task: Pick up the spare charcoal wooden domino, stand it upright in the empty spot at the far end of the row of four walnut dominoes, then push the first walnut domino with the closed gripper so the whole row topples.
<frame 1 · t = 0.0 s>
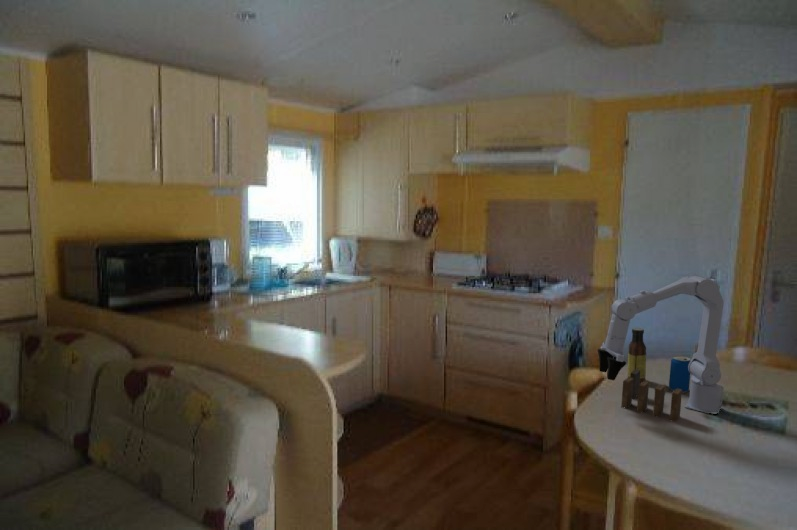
hand: (606, 375, 185), 11 cm above the table, tool pointing down, fingers open, 7 cm apart
sauce bottle: (635, 380, 211), on the table
domino 4: (626, 405, 187), on the table
domino 3: (641, 409, 184), on the table
domino 2: (658, 413, 181), on the table
domino 1: (674, 418, 177), on the table
beverage can: (678, 390, 201), on the table
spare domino: (633, 396, 195), on the table
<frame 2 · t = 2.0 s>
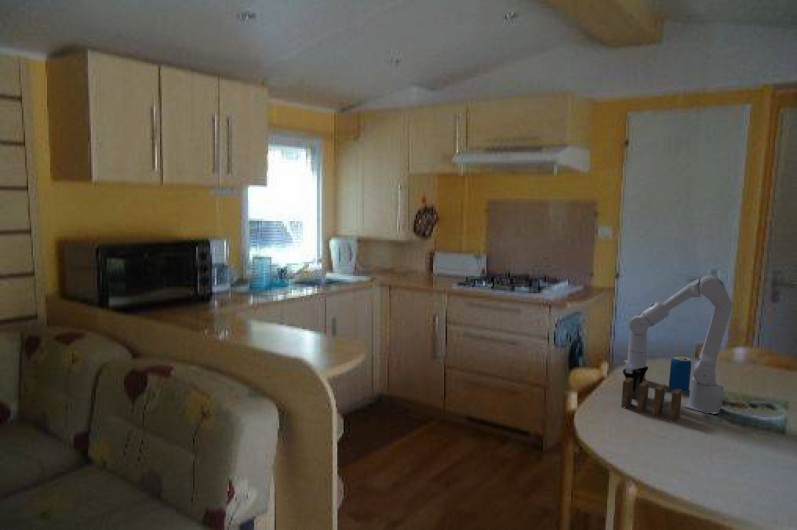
hand: (634, 388, 195), 3 cm above the table, tool pointing down, fingers closed on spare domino, 5 cm apart
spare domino: (633, 396, 195), on the table, touching gripper
everything else where it was.
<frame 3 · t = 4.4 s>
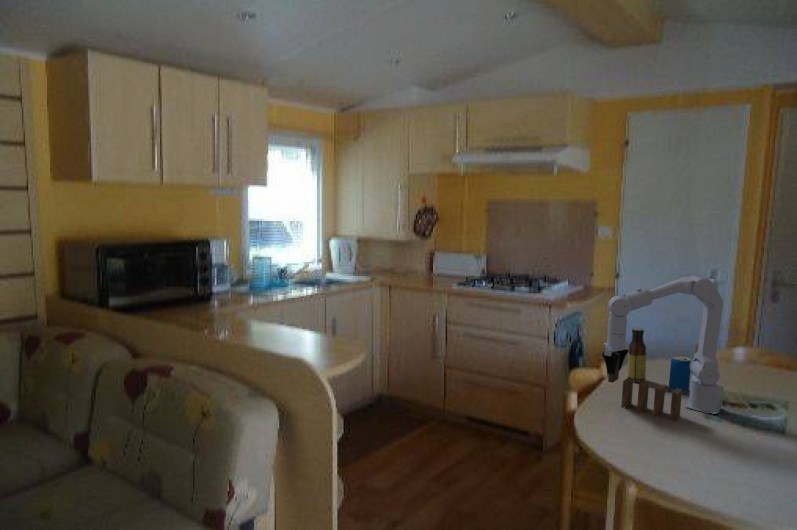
hand: (614, 371, 189), 10 cm above the table, tool pointing down, fingers closed on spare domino, 5 cm apart
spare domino: (613, 380, 189), point 8 cm above the table, touching gripper
everything else where it was.
when the fingers open (3 cm above the table, at t = 6.7 s): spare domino stays where it is, on the table.
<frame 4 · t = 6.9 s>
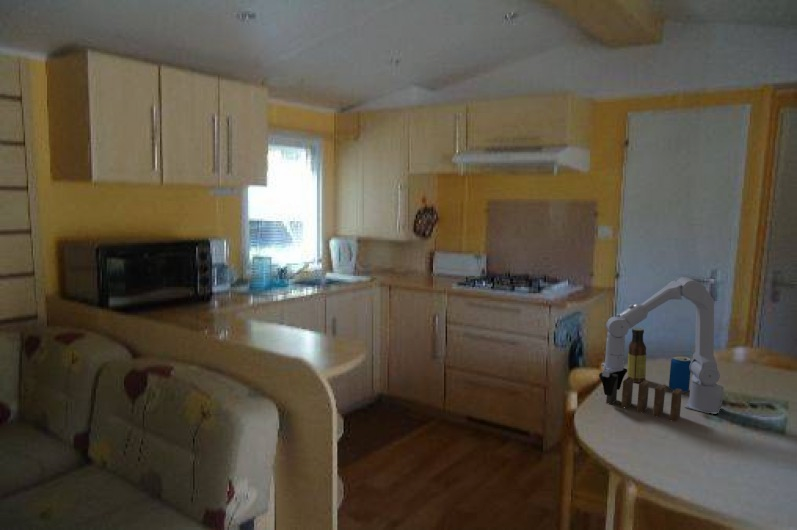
hand: (612, 392, 190), 3 cm above the table, tool pointing down, fingers open, 7 cm apart
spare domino: (611, 401, 190), on the table
everything else where it was.
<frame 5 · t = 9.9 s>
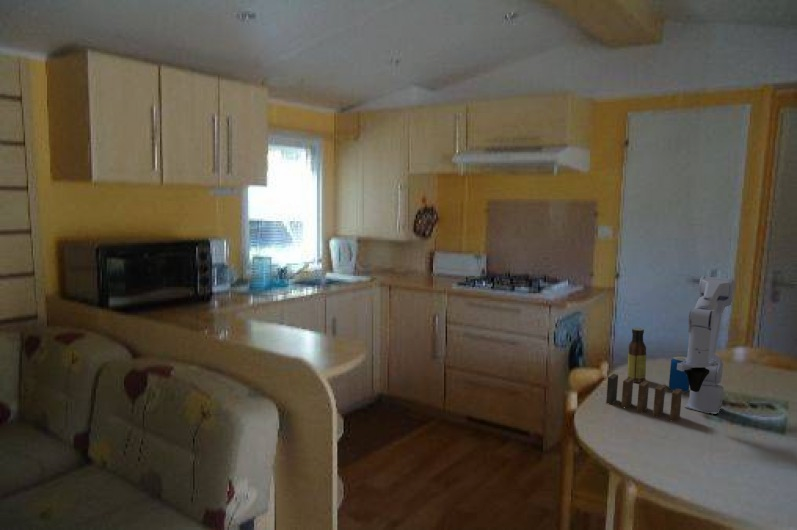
hand: (694, 390, 172), 10 cm above the table, tool pointing down, fingers closed
nothing on the table moved.
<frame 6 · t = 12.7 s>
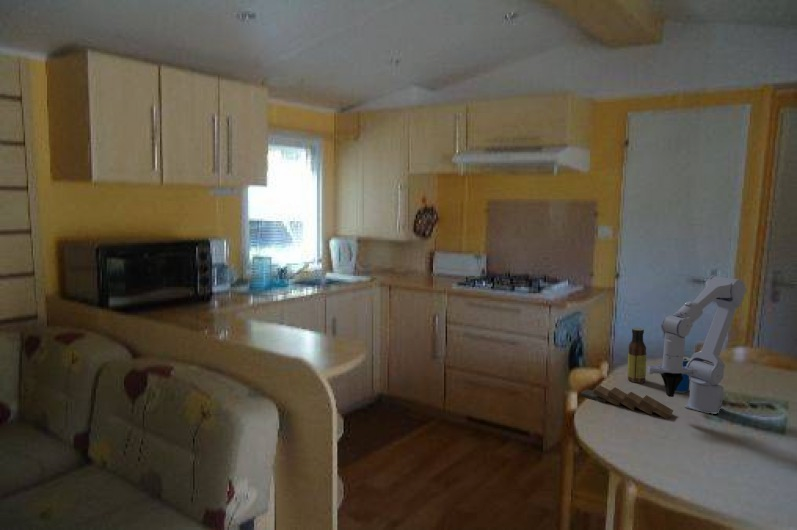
hand: (669, 395, 178), 7 cm above the table, tool pointing down, fingers closed
domino 4: (621, 402, 188), point 1 cm above the table, tilted 76°, touching domino 3
domino 3: (636, 406, 185), point 1 cm above the table, tilted 71°, touching domino 4
domino 2: (653, 410, 181), point 1 cm above the table, tilted 72°, touching domino 1
domino 1: (670, 414, 178), point 1 cm above the table, tilted 71°, touching domino 2
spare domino: (608, 400, 191), on the table, tilted 90°
everything else where it was.
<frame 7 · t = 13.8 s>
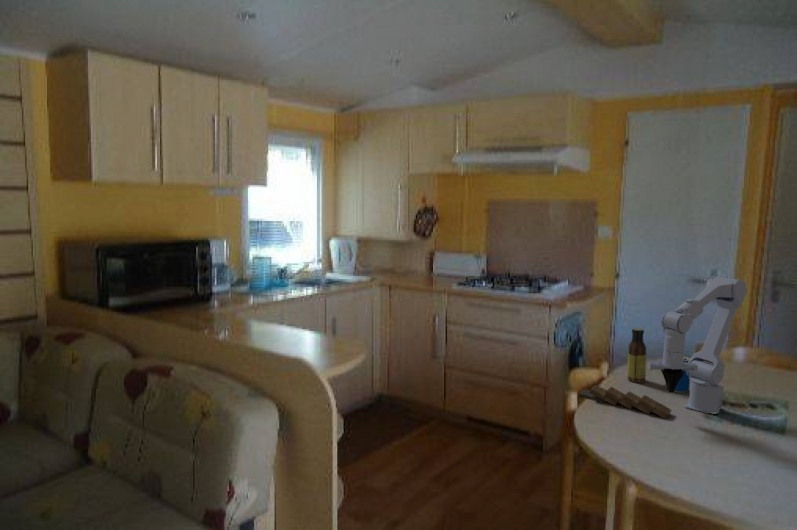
hand: (670, 391, 177), 8 cm above the table, tool pointing down, fingers closed
domino 4: (618, 401, 188), point 1 cm above the table, tilted 74°, touching domino 3, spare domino
domino 3: (633, 405, 186), point 1 cm above the table, tilted 71°, touching domino 2, domino 4
domino 2: (652, 410, 182), point 1 cm above the table, tilted 72°, touching domino 1, domino 3
domino 1: (668, 414, 178), point 1 cm above the table, tilted 72°, touching domino 2
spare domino: (607, 400, 191), on the table, tilted 90°, touching domino 4
everything else where it was.
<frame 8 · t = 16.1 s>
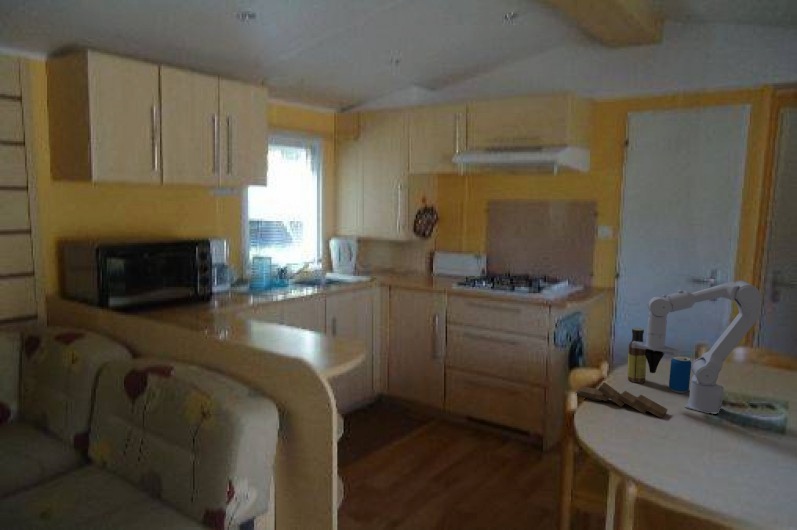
hand: (652, 372, 189), 10 cm above the table, tool pointing down, fingers closed
domino 4: (608, 396, 190), point 2 cm above the table, tilted 90°, touching domino 3
domino 3: (624, 403, 187), point 1 cm above the table, tilted 62°, touching domino 4
domino 2: (647, 409, 182), point 1 cm above the table, tilted 73°, touching domino 1
domino 1: (664, 413, 179), point 1 cm above the table, tilted 72°, touching domino 2
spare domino: (603, 399, 192), on the table, tilted 90°
everything else where it was.
at the end: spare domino inside the target area (2.0 cm from its centre), on the table; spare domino tilted 90°; domino 4 tilted 90° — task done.
